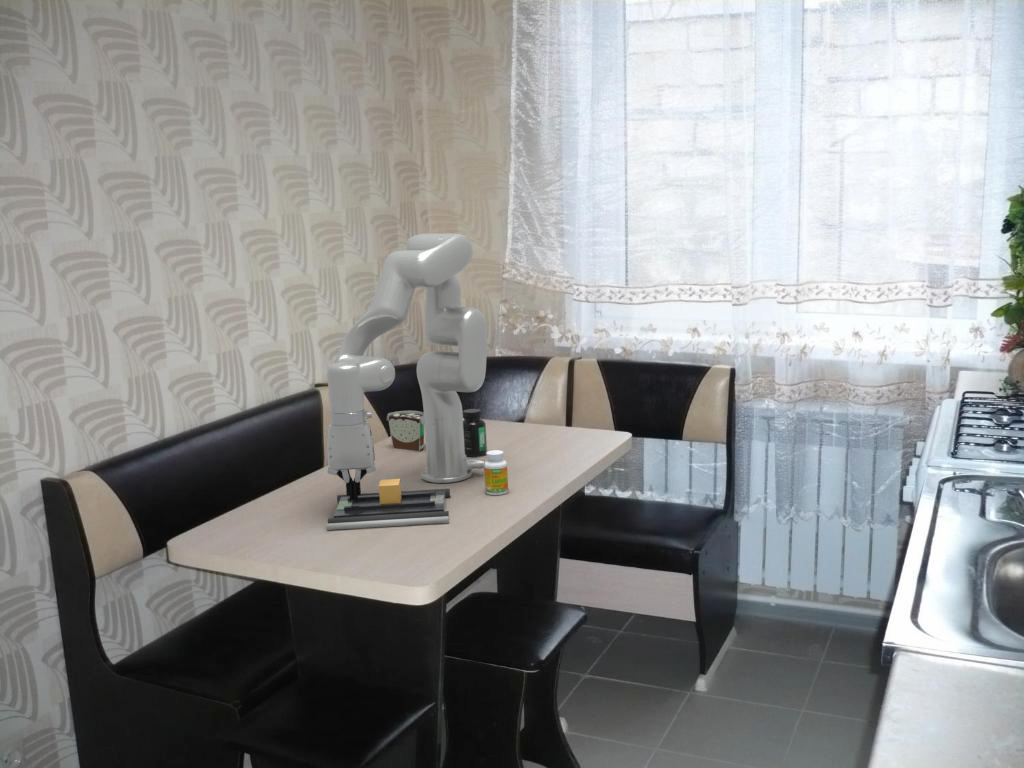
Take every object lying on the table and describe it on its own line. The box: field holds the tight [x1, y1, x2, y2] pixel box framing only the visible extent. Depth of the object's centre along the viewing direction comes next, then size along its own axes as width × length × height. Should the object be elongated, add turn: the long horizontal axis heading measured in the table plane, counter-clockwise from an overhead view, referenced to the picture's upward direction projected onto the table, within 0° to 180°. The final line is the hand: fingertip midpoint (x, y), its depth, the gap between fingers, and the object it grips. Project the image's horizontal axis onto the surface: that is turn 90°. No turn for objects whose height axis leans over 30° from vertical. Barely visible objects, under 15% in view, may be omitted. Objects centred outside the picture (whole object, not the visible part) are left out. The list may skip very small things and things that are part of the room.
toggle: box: [378, 478, 402, 504], centre depth 237 cm, size 4×5×4 cm
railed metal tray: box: [333, 491, 447, 518], centre depth 237 cm, size 24×14×3 cm, turn 92°
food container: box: [386, 410, 425, 453], centre depth 293 cm, size 12×6×10 cm, turn 58°
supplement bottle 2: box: [483, 449, 509, 496], centre depth 247 cm, size 5×5×10 cm
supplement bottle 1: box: [462, 408, 488, 458], centre depth 282 cm, size 7×7×12 cm
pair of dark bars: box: [326, 487, 451, 531], centre depth 237 cm, size 26×20×2 cm
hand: (354, 498), depth 237 cm, fingers closed
